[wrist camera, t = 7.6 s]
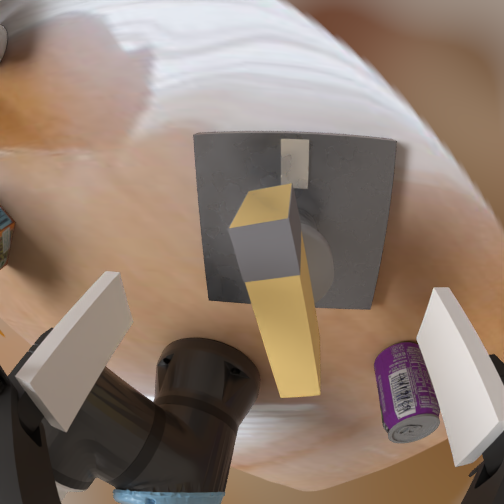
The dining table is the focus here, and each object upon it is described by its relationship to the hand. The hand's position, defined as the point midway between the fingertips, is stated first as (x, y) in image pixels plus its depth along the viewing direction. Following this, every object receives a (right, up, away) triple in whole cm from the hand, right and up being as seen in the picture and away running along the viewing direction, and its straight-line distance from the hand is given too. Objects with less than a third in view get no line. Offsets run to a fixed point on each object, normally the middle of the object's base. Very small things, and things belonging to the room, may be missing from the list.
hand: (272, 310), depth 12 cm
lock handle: (+2, +2, +12) cm, 12 cm away
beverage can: (+19, -12, +25) cm, 33 cm away
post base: (+3, +5, +18) cm, 19 cm away
